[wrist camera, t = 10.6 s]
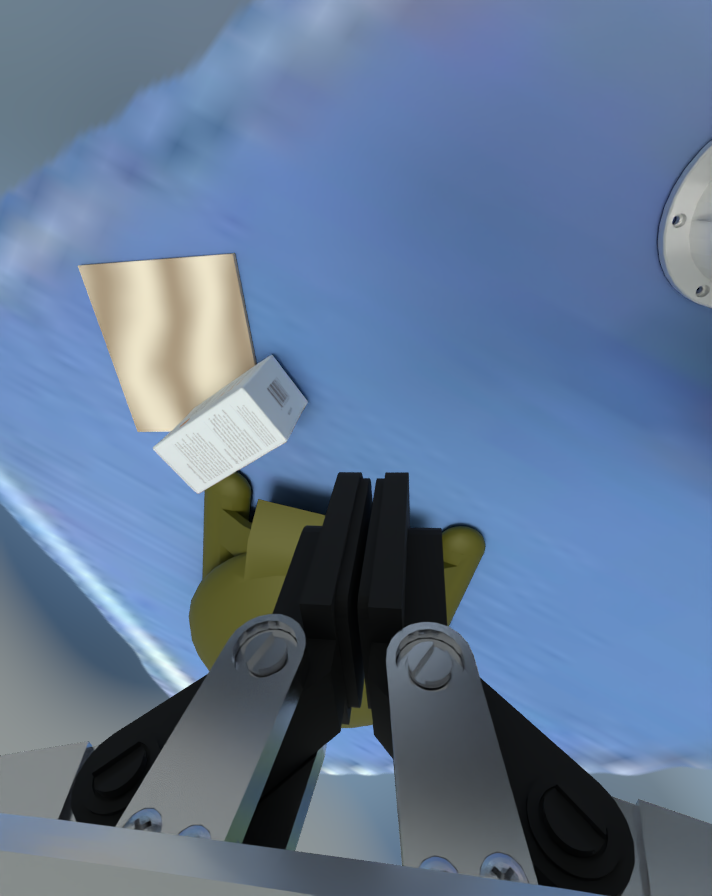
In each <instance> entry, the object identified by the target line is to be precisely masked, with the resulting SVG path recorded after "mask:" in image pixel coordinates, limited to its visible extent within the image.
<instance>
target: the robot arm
mask: <svg viewBox="0 0 712 896" xmlns="http://www.w3.org/2000/svg"><path fill="white" fill-rule="evenodd" d="M675 216H676V222H675V223H674V224H672V220H673V218H674V217H675ZM658 250H659V259H660V263H661V266H662V268H663V271H664V274H665V276H666V277H667V279H668V280H669V282H670V283H671V285H672V286H673V288H675V289H676V290H677V291H678V292H679V293H680V294H682V295H683V296H684V297H686V298H688V299H690V300H692V301H694V302H696V303H698V304H701V305H704V306H707V307H709V308H712V140H711V141H710V142H709V143H708V144H707V145H705V146H704V147H703V148H702V149H701V150H700V152H699V153H698V154H697V155H696V156H695V157H694V159H693V160H692V161H691V162H690V163H689V165H688V166H687V167H686V168H685V170H684V171H683V173H682V175H681V176H680V178H679V179H678V181H677V182H676V184H675V185H674V187H673V189H672V192H671V194H670V196H669V198H668V200H667V203H666V205H665V207H664V211H663V215H662V218H661V222H660V225H659V236H658ZM698 288H699V290H698V291H697V292H696V290H697V289H698ZM364 679H365V686H366V695H367V703H368V709H371V711H372V720H373V729H374V735H375V737H376V738H377V739H378V740H379V742H380V743H381V744H382V746H383V747H384V748H385V749H386V751H387V752H388V753H389V754H390V756H391V757H392V758H393V764H394V775H395V786H396V799H397V811H398V822H399V834H400V846H401V858H402V866H400V865H393V864H385V863H378V862H371V861H364V860H356V859H349V858H342V857H334V856H326V855H320V854H312V853H305V852H298V851H295V850H296V847H297V844H298V841H299V837H300V834H301V831H302V828H303V824H304V821H305V818H306V815H307V812H308V808H309V805H310V802H311V799H312V796H313V792H314V789H315V786H316V783H317V780H318V776H319V773H320V770H321V767H322V763H323V760H324V757H325V751H326V745H327V744H326V743H328V742H329V741H330V740H331V739H332V738H334V737H335V736H336V735H337V734H338V733H340V732H341V725H342V724H346V725H349V723H350V716H351V709H352V707H353V708H360V707H361V703H362V696H363V687H364ZM0 896H712V824H710V823H707V822H704V821H701V820H698V819H695V818H693V817H690V816H687V815H684V814H681V813H678V812H675V811H672V810H669V809H666V808H663V807H660V806H657V805H655V804H652V803H649V802H645V801H643V800H640V799H638V801H637V803H636V805H635V804H632V803H629V802H626V801H623V800H621V799H618V798H615V797H612V796H611V795H610V794H609V793H608V792H607V791H606V790H605V789H604V788H603V787H602V786H601V785H600V783H599V782H597V781H596V780H595V779H594V778H593V777H592V776H591V775H590V774H588V773H587V772H586V771H585V770H584V769H583V768H582V767H580V766H579V765H578V764H577V763H576V762H575V761H574V760H573V759H571V758H570V757H569V756H568V755H567V754H566V753H565V752H564V751H562V750H561V749H560V748H559V747H558V746H557V745H556V744H555V743H553V742H552V741H551V740H550V739H549V738H548V737H547V736H545V735H544V734H543V733H542V732H541V731H540V730H539V729H538V728H536V727H535V726H534V725H533V724H532V723H531V722H530V721H529V720H527V719H526V718H525V717H524V716H523V715H522V714H521V713H520V712H518V711H517V710H516V709H515V708H514V707H513V706H512V705H510V704H509V703H508V702H507V701H506V700H505V699H504V698H503V697H501V696H500V695H499V694H498V693H497V692H496V691H495V690H494V689H492V688H491V687H490V686H489V685H488V684H487V683H486V682H484V681H483V680H482V679H481V678H480V676H479V673H478V669H477V666H476V662H475V659H474V655H473V653H472V651H471V649H470V647H469V644H468V643H467V642H466V641H465V639H464V638H463V637H462V636H461V635H460V634H459V633H457V632H456V631H454V630H453V629H451V628H450V627H448V626H447V610H446V594H445V577H444V560H443V544H442V530H441V528H410V506H409V473H385V479H378V478H377V480H376V486H375V492H374V498H373V503H372V490H371V480H370V478H363V476H362V473H361V472H339V473H338V475H337V479H336V482H335V485H334V489H333V492H332V495H331V499H330V502H329V505H328V509H327V512H326V515H325V519H324V522H323V525H322V526H311V525H306V526H305V527H304V528H303V530H302V532H301V535H300V538H299V541H298V543H297V546H296V549H295V552H294V555H293V557H292V560H291V563H290V566H289V569H288V571H287V574H286V577H285V580H284V583H283V585H282V588H281V591H280V594H279V597H278V599H277V602H276V605H275V608H274V611H273V613H272V614H267V615H262V616H258V617H256V618H254V619H251V620H249V621H247V622H246V623H244V624H243V625H242V626H241V627H239V628H238V629H237V630H236V631H235V632H234V633H233V635H232V636H231V637H230V638H229V640H228V641H227V643H226V645H225V646H224V648H223V650H222V651H221V653H220V654H219V656H218V658H217V659H216V661H215V663H214V664H213V666H212V668H211V669H210V671H209V673H208V674H207V675H205V676H204V677H202V678H201V679H199V680H198V681H196V682H194V683H193V684H191V685H190V686H188V687H187V688H185V689H183V690H182V691H180V692H179V693H177V694H176V695H174V696H172V697H171V698H169V699H168V700H166V701H165V702H163V703H162V704H160V705H158V706H157V707H155V708H154V709H152V710H150V711H149V712H148V713H146V714H144V715H143V716H141V717H139V718H138V719H137V720H135V721H133V722H132V723H130V724H129V725H127V726H125V727H124V728H122V729H121V730H119V731H117V732H116V733H114V734H113V735H112V736H110V737H109V738H108V739H106V740H105V741H104V742H103V743H102V744H100V745H99V746H93V747H92V745H91V744H90V742H89V741H87V742H80V743H74V744H68V745H62V746H55V747H49V748H44V749H37V750H31V751H24V752H18V753H12V754H6V755H0Z"/></svg>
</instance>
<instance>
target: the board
mask: <svg viewBox="0 0 712 896" xmlns="http://www.w3.org/2000/svg"><path fill="white" fill-rule="evenodd" d="M78 268H79V270H80V273H81V276H82V279H83V281H84V284H85V287H86V290H87V292H88V295H89V298H90V301H91V304H92V306H93V309H94V312H95V315H96V317H97V320H98V323H99V326H100V328H101V331H102V334H103V337H104V340H105V342H106V345H107V348H108V351H109V353H110V356H111V359H112V362H113V365H114V367H115V370H116V373H117V376H118V378H119V381H120V384H121V387H122V389H123V392H124V395H125V398H126V401H127V403H128V406H129V409H130V412H131V414H132V417H133V420H134V423H135V425H136V428H137V431H138V432H165V431H172V430H173V429H174V428H175V427H176V426H177V425H178V424H179V423H180V422H181V421H182V420H183V419H184V418H185V417H186V416H187V415H188V414H189V413H190V412H191V411H192V410H193V408H195V407H196V406H198V405H199V404H201V403H202V402H204V401H205V400H206V399H208V398H209V397H211V396H212V395H214V394H215V393H216V392H218V391H219V390H221V389H222V388H223V387H225V386H226V385H228V384H229V383H231V382H232V381H233V380H235V379H236V378H238V377H239V376H241V375H242V374H244V373H245V372H246V371H248V370H249V369H251V368H252V367H254V366H255V365H257V363H256V358H255V353H254V348H253V342H252V337H251V332H250V327H249V322H248V317H247V312H246V307H245V302H244V297H243V292H242V286H241V281H240V276H239V271H238V266H237V261H236V256H235V253H232V254H219V255H206V256H193V257H180V258H167V259H154V260H141V261H128V262H115V263H102V264H89V265H79V266H78Z"/></svg>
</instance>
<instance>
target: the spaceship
mask: <svg viewBox="0 0 712 896" xmlns="http://www.w3.org/2000/svg"><path fill="white" fill-rule="evenodd" d="M251 494H252V493H251V486H250V485H249V483H248V481H247V480H246V478H244V477H243V476H242V475H241V474H240V473H238V472H234V473H233V474H231V475H230V476H228V477H226V478H225V479H223V480H221V481H220V482H218V483H216V484H214V485H213V486H211V487H209V488H208V489H206V490H205V498H204V538H203V578H202V581H201V583H200V584H199V586H198V588H197V590H196V592H195V594H194V596H193V598H192V600H191V605H190V612H189V622H190V629H191V636H192V641H193V644H194V646H195V648H196V651H197V653H198V655H199V657H200V658H201V660H202V661H203V663H204V664H205V666H206V667H207V668H208V670H209V671H210V669H211V668H212V666H213V664H214V663H215V661H216V659H217V658H218V656H219V654H220V653H221V651H222V650H223V648H224V646H225V645H226V643H227V641H228V640H229V638H230V637H231V636H232V635H233V633H234V632H235V631H236V630H237V629H238V628H239V627H241V626H242V625H243V624H244V623H246V622H247V621H249V620H251V619H254V618H256V617H258V616H262V615H267V614H272V613H273V611H274V608H275V605H276V602H277V599H278V597H279V594H280V591H281V588H282V585H283V583H284V580H285V577H286V574H287V571H288V569H289V566H290V563H291V560H292V557H293V555H294V552H295V549H296V546H297V543H298V541H299V538H300V535H301V532H302V530H303V528H304V527H305V526H306V525H311V526H322V525H323V522H324V519H325V515H322V514H318V513H313V512H309V511H305V510H301V509H297V508H293V507H289V506H285V505H280V504H276V503H272V502H268V501H264V500H260V499H258V503H257V507H256V511H255V515H254V518H253V522H252V523H250V522H249V513H250V503H251ZM442 544H443V560H444V577H445V594H446V610H447V626H448V627H449V625H450V623H451V620H452V618H453V616H454V614H455V612H456V610H457V608H458V606H459V604H460V602H461V600H462V597H463V595H464V593H465V591H466V589H467V587H468V585H469V583H470V581H471V579H472V577H473V574H474V572H475V570H476V568H477V566H478V564H479V562H480V560H481V558H482V556H483V554H484V551H485V542H484V539H483V536H482V535H481V534H480V533H479V532H478V531H477V530H475V529H472V528H470V527H464V526H457V527H452V528H449V529H447V530H446V531H444V532H442ZM368 725H373V720H372V711H371V709H368V703H367V695H366V686H365V679H364V687H363V696H362V703H361V707H360V708H353V707H352V709H351V716H350V723H349V725H346V724H342V725H341V728H355V727H361V726H368Z"/></svg>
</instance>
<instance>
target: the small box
mask: <svg viewBox="0 0 712 896" xmlns="http://www.w3.org/2000/svg"><path fill="white" fill-rule="evenodd" d="M307 403H308V402H307V400H306V399H305V397H304V396H303V395H302V393H301V392H300V391H299V389H298V388H297V387H296V385H295V384H294V383H293V381H292V380H291V379H290V377H289V376H288V375H287V374H286V372H285V371H284V370H283V368H282V367H281V366H280V364H279V363H278V362H277V360H276V359H275V358H274V356H273V355H270V356H269V357H267V358H266V359H264V360H263V361H261V362H260V363H258V364H257V365H255V366H254V367H252V368H251V369H249V370H248V371H246V372H245V373H244V374H242V375H241V376H239V377H238V378H236V379H235V380H233V381H232V382H231V383H229V384H228V385H226V386H225V387H223V388H222V389H221V390H219V391H218V392H216V393H215V394H214V395H212V396H211V397H209V398H208V399H206V400H205V401H204V402H202V403H201V404H199V405H198V406H196V407H195V408H193V410H192V411H191V412H190V413H189V414H188V415H187V416H186V417H185V418H184V419H183V420H182V421H181V422H180V423H179V424H178V425H177V426H176V427H175V428H174V429H173V430H172V431H171V432H170V433H169V434H168V435H167V436H166V437H164V438H163V439H162V440H161V441H160V442H159V443H158V444H156V445H155V446H154V447H153V450H154V451H155V452H156V453H157V454H158V455H159V456H160V457H161V458H162V459H163V460H164V461H165V462H166V463H167V464H168V465H169V466H170V467H171V468H172V469H173V470H174V471H175V472H176V473H177V474H178V475H179V476H180V477H181V478H182V479H183V480H184V481H185V482H186V483H187V484H188V485H189V486H190V487H191V488H192V489H193V490H194V491H195V492H196V493H197V494H199V493H201V492H203V491H204V490H206V489H208V488H209V487H211V486H213V485H214V484H216V483H218V482H220V481H221V480H223V479H225V478H226V477H228V476H230V475H231V474H233V473H234V472H236V471H238V470H239V469H241V468H243V467H245V466H246V465H248V464H250V463H252V462H253V461H255V460H257V459H258V458H260V457H262V456H263V455H265V454H266V453H268V452H270V451H272V450H273V449H275V448H277V447H278V446H280V445H282V444H284V443H285V442H287V440H288V439H289V437H290V434H291V432H292V430H293V429H294V427H295V425H296V423H297V421H298V419H299V417H300V415H301V413H302V411H303V409H304V408H305V406H306V405H307Z"/></svg>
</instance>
